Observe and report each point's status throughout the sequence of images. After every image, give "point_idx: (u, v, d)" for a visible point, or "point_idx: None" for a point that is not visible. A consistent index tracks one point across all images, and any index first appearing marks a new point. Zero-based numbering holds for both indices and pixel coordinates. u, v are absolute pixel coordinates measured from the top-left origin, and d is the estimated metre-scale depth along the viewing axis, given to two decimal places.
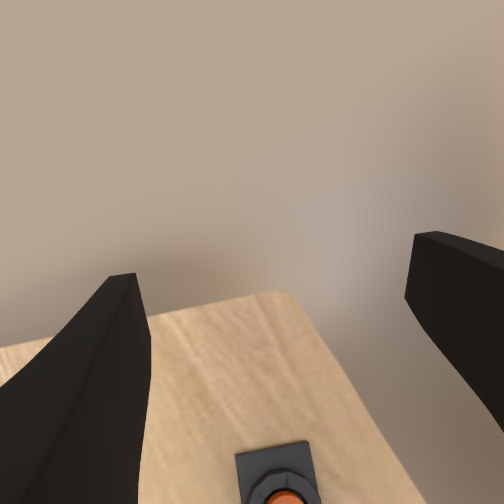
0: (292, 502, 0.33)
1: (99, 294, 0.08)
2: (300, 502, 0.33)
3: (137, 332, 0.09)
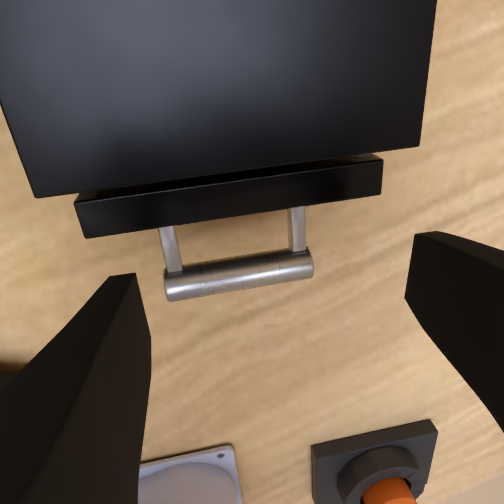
0: None
1: (99, 294, 0.08)
2: None
3: (137, 332, 0.09)
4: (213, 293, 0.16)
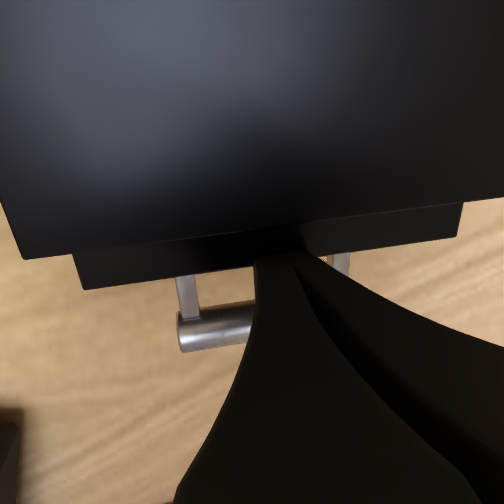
0: None
1: (268, 270, 0.08)
2: None
3: None
4: (236, 343, 0.13)
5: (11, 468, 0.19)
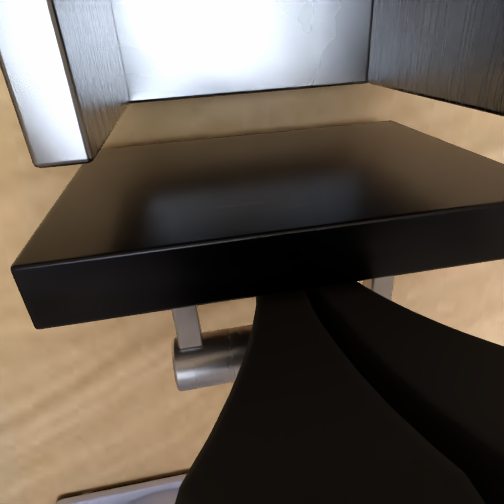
0: None
1: None
2: None
3: None
4: None
5: None
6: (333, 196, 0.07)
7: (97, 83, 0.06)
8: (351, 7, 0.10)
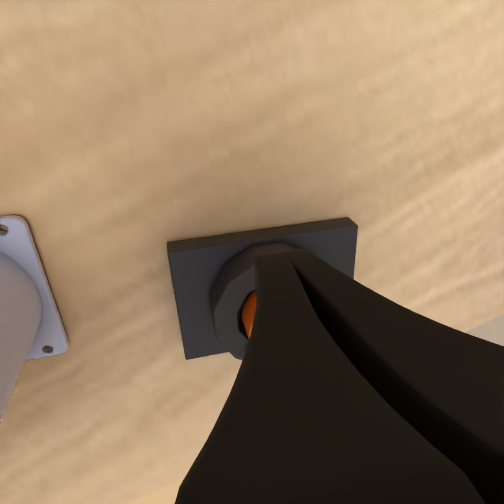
0: None
1: (269, 269, 0.08)
2: None
3: None
4: None
5: None
6: None
7: None
8: None
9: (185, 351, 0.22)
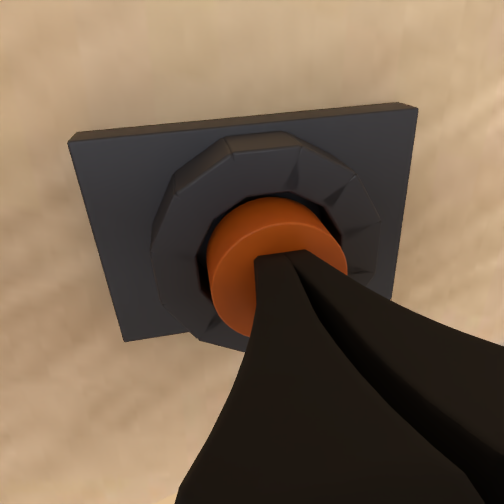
0: None
1: (269, 270, 0.08)
2: None
3: None
4: None
5: None
6: None
7: None
8: None
9: (121, 328, 0.13)
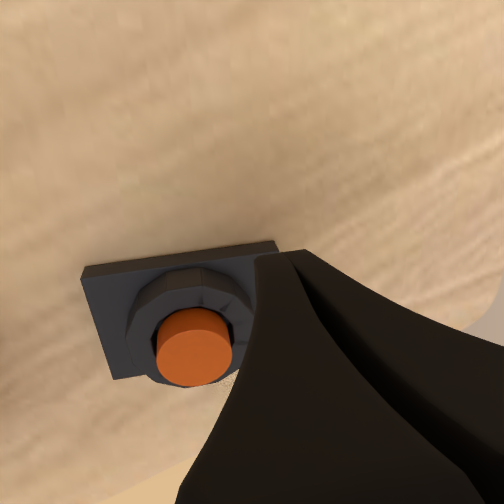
0: (220, 364, 0.19)
1: (269, 270, 0.08)
2: (219, 374, 0.20)
3: None
4: None
5: None
6: None
7: None
8: None
9: (111, 372, 0.22)
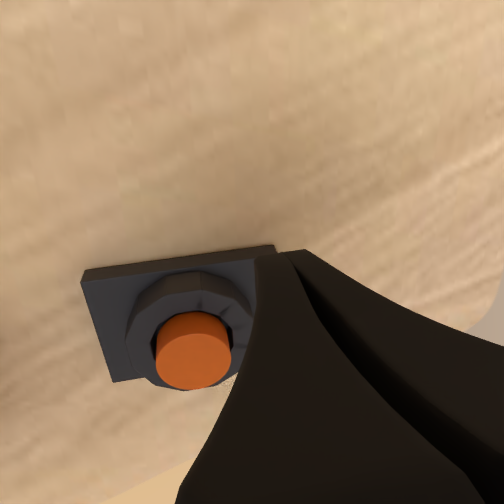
0: (219, 368, 0.19)
1: (269, 270, 0.08)
2: (218, 378, 0.20)
3: None
4: None
5: None
6: None
7: None
8: None
9: (111, 374, 0.22)
